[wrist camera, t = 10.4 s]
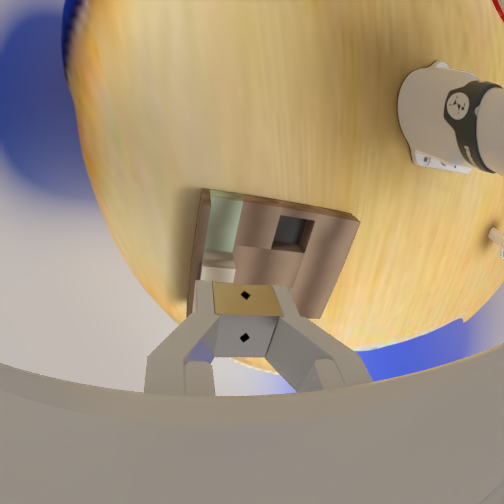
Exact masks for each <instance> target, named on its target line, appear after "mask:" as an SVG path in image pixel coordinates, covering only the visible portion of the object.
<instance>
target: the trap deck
mask: <svg viewBox="0 0 504 504" xmlns="http://www.w3.org/2000/svg"><path fill="white" fill-rule="evenodd" d="M359 225H360V221H359V220H358V219H357V218H355V217H354V216H353V215H352V214H350V213H345V212H340V211H335V210H330V209H325V208H320V207H315V206H310V205H304V204H299V203H293V202H288V201H282V200H276V199H270V198H264V197H258V196H251V195H245V194H238V193H232V192H225V191H218V190H211V189H203V188H202V192H201V198H200V205H199V211H198V218H197V224H196V231H195V238H194V246H193V253H192V261H191V269H190V277H189V285H188V294H187V317H188V316H189V315H190V314H191V313H192V309H193V298H194V288H195V281H196V280H200V274H201V267H202V260H203V254H204V250H213V251H222V252H232V253H233V258H234V263H235V268H236V271H235V276H234V280H233V283H239V284H251V285H285V286H287V288H288V290H289V292H290V294H291V297H292V299H293V301H294V303H295V306H296V308H297V310H298V312H299V315H300V317H306V318H312V319H320V318H321V315H322V313H323V311H324V309H325V307H326V305H327V302H328V300H329V298H330V296H331V293H332V291H333V289H334V287H335V284H336V282H337V280H338V277H339V275H340V272H341V270H342V268H343V265H344V263H345V260H346V258H347V256H348V253H349V251H350V248H351V245H352V243H353V240H354V238H355V235H356V233H357V230H358V227H359Z"/></svg>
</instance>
